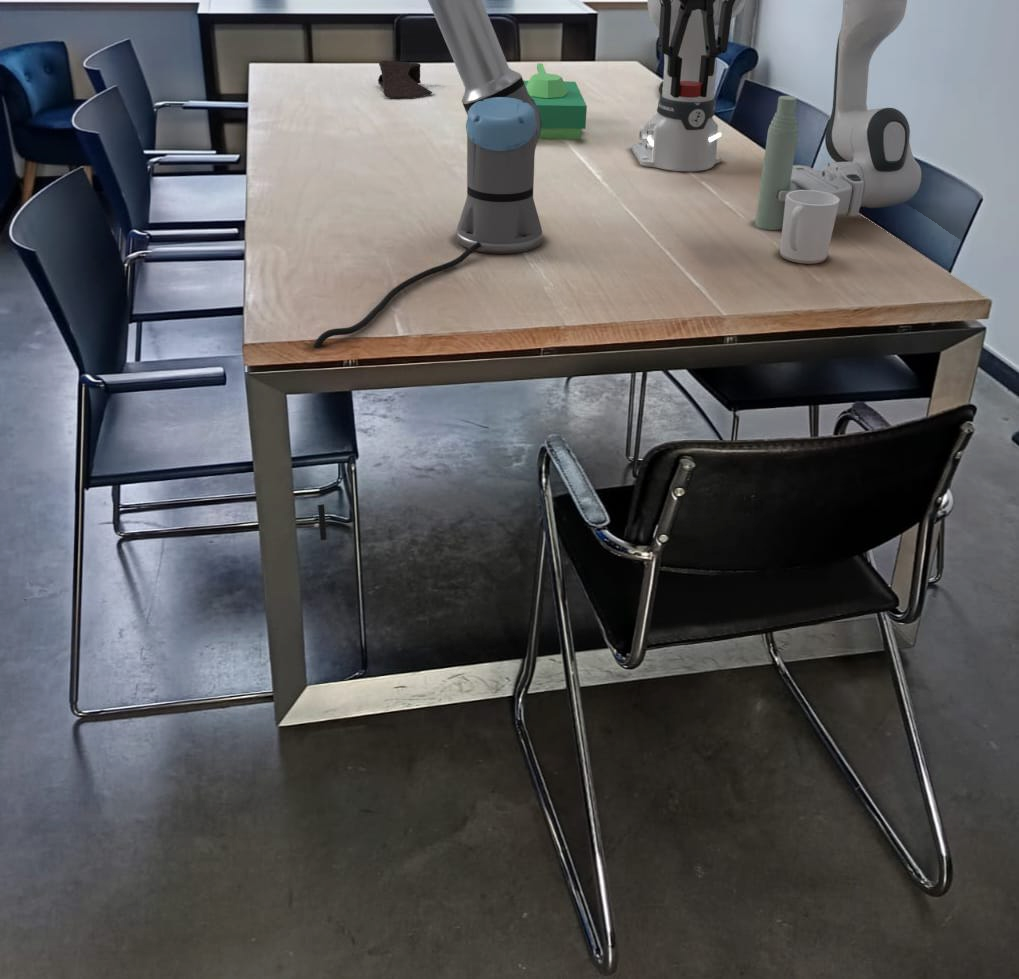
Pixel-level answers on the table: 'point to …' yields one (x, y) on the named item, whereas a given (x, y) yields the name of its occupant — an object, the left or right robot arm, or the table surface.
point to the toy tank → (557, 106)
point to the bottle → (777, 164)
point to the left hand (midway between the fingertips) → (688, 95)
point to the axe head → (401, 79)
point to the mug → (808, 225)
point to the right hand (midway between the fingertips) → (770, 190)
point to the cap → (690, 89)
